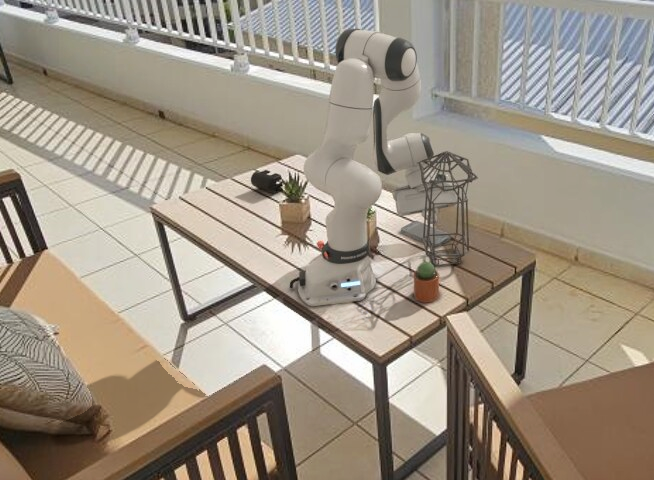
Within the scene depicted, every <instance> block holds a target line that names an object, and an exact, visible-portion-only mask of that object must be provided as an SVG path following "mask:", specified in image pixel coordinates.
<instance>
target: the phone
mask: <svg viewBox="0 0 654 480" xmlns="http://www.w3.org/2000/svg"><path fill="white" fill-rule="evenodd" d="M427 224H428V223H426V228H425V236H427ZM423 232H424V222H421V221H420V220H413V221H412V222H410V223H408V224H406V225H405V226H402V227H401V228H400V233H401V234H403V235H405V236H408V237H410V238H412V239H414V240H417V241H419V242H421V243H422V244H424V241H423ZM447 233H448V232H446V231H443V230H440V229H438V228H436V227H435V234H447ZM432 234H433V226H432V225H430V235H432ZM429 238H430V240H431V243H432V245H433V236H429ZM429 238H428V244H429V245H430V246H431V243H430V241H429ZM451 239H452V235H442V236H435V246H437V245H445V243H447V242H448V241H450V240H451ZM425 240H427V238H425ZM425 243H426V242H425ZM431 247H432V246H431ZM436 248H437V247H435V249H436Z"/></svg>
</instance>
